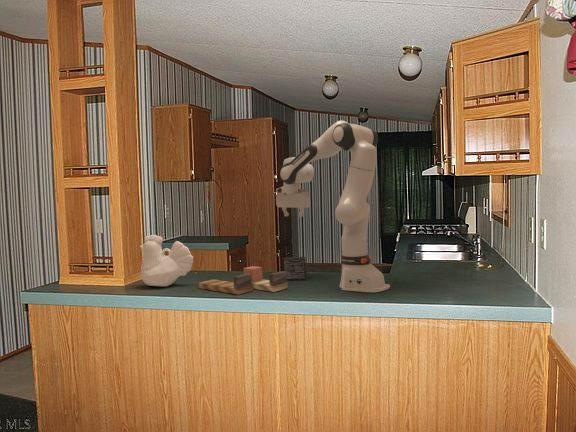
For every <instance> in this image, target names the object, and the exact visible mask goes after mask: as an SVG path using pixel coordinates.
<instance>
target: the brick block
mask: <svg viewBox="0 0 576 432" xmlns="http://www.w3.org/2000/svg"><path fill="white" fill-rule="evenodd" d="M242 270H243V274H251V280H252V282H257V281H261V280H262V279H263V267H261V266H255V265H254V266H253V265H251V266H248V267H243V269H242Z"/></svg>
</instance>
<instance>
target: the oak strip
mask: <svg viewBox="0 0 576 432" xmlns="http://www.w3.org/2000/svg"><path fill="white" fill-rule="evenodd" d="M233 280H234V282H233ZM233 280H232V281H228V280H220V279H216V278H215V279H209V280H205V281H201V282H198V289H201V290H209V291H215V292H221V293H227V294H232V295H242V294H245V293H246V294H247V293H249V292H253V290H254V289H253V285H252V280H251V274H244V273H243V274H239V275H236V276H233Z"/></svg>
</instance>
